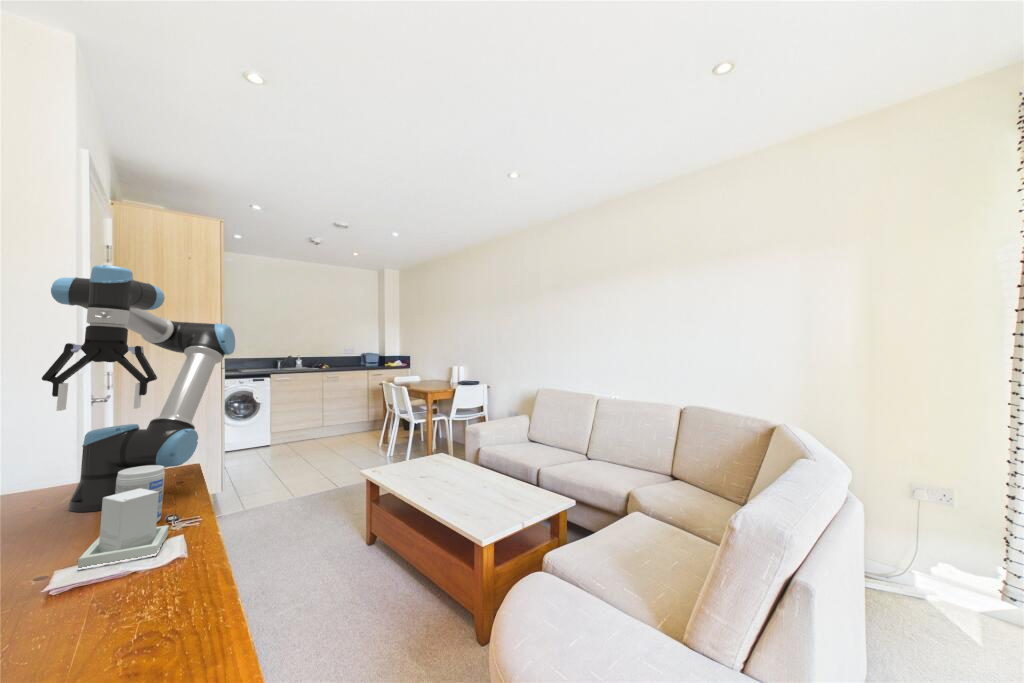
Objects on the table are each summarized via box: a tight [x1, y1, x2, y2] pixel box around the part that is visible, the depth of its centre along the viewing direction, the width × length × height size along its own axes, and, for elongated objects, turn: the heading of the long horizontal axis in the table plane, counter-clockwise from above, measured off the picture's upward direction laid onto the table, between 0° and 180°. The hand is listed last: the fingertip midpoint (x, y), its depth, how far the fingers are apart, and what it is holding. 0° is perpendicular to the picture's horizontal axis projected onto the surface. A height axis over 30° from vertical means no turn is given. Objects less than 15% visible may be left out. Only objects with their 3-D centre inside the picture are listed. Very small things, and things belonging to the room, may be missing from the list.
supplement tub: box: [115, 465, 166, 523], centre depth 104 cm, size 10×10×15 cm
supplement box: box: [98, 488, 159, 553], centre depth 90 cm, size 7×7×13 cm
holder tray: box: [77, 524, 170, 569], centre depth 90 cm, size 12×12×2 cm
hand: (100, 409), depth 98 cm, fingers open, 13 cm apart
